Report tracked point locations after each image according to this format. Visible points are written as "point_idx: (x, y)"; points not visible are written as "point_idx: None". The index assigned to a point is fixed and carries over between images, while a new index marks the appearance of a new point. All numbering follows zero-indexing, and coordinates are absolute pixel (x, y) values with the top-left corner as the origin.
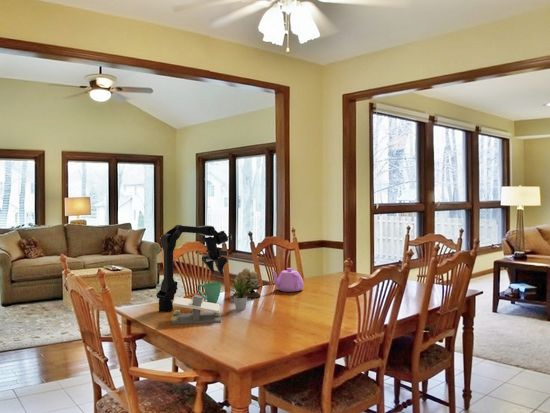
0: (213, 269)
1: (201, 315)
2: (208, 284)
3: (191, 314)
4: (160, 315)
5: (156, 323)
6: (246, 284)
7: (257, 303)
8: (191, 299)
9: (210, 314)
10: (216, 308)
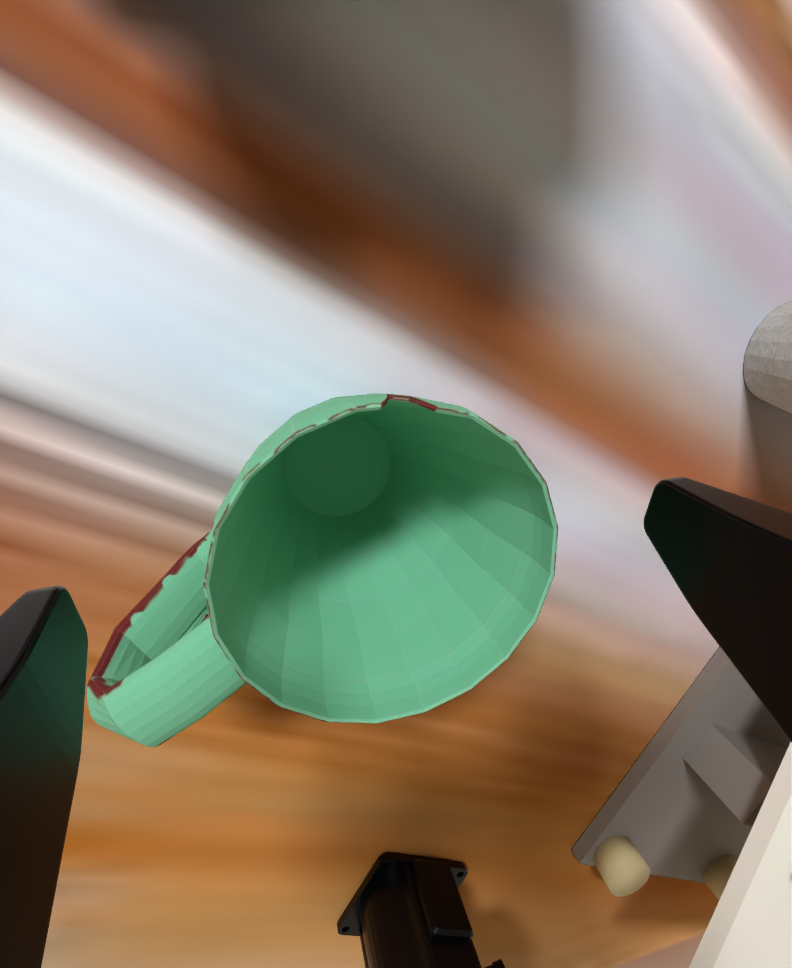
0: (23, 687)
1: (747, 725)
2: (216, 591)
3: (678, 774)
4: (501, 916)
5: (641, 929)
6: None
7: (778, 9)
8: (757, 879)
9: None
10: None
